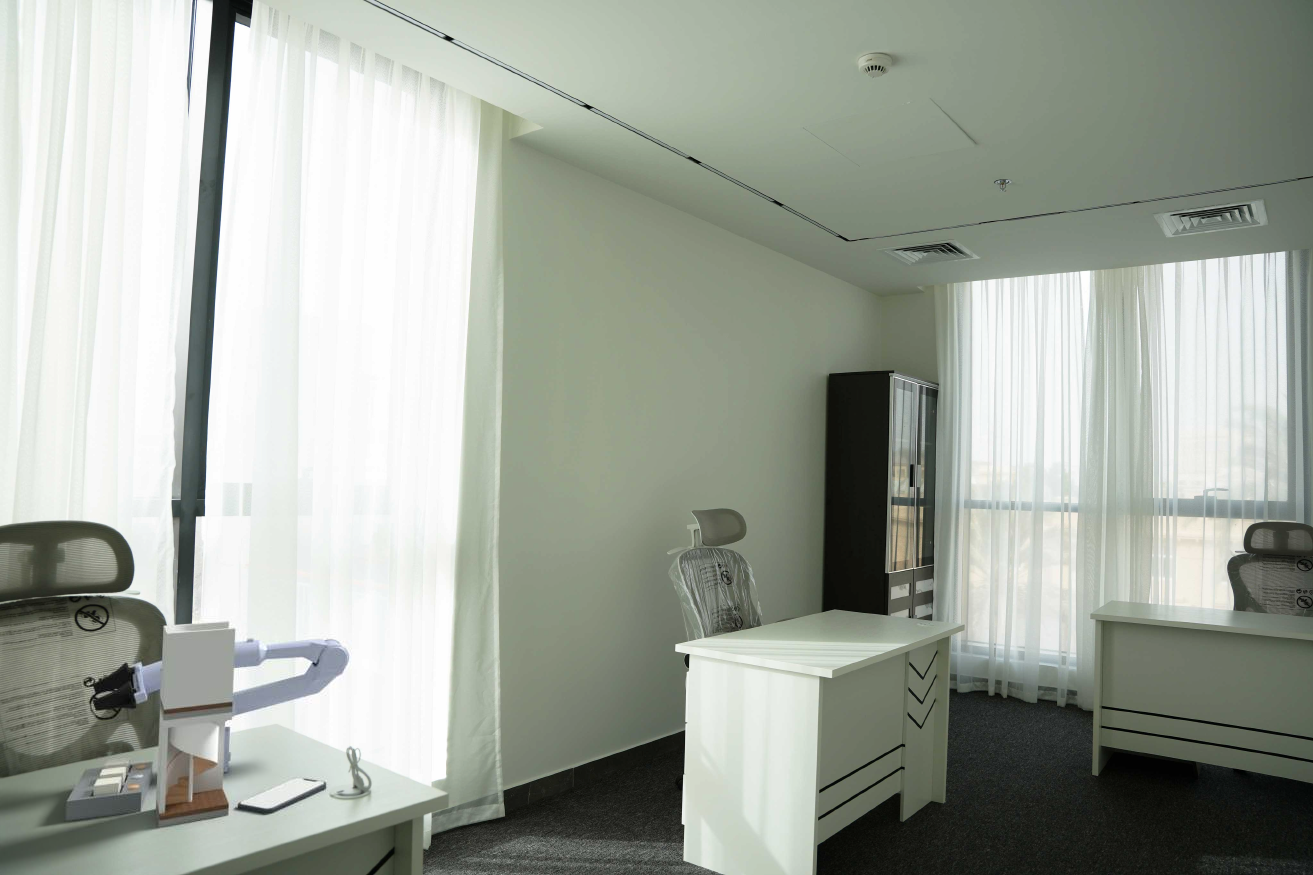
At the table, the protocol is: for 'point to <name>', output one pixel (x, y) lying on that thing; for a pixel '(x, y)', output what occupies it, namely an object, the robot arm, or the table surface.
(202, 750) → the spiral staircase model
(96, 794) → the button
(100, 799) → the button board
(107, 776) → the middle button
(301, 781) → the smartphone
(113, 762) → the button
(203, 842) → the table surface
